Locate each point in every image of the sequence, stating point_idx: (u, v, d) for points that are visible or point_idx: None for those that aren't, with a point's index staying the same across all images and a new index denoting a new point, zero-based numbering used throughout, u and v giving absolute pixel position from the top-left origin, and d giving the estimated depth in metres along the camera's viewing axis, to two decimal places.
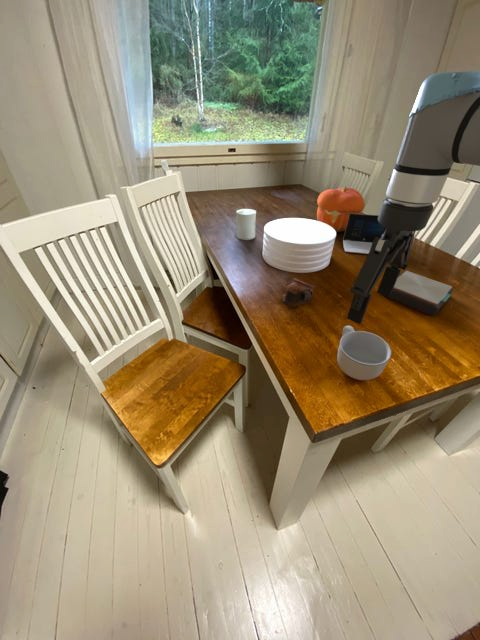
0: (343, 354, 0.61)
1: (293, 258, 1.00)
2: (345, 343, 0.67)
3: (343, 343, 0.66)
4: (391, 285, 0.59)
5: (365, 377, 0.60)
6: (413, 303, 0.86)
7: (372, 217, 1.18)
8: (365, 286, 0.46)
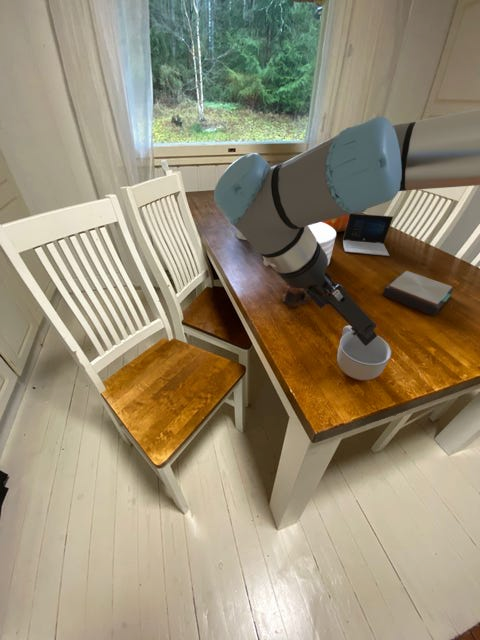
0: (343, 354, 0.61)
1: None
2: (345, 343, 0.67)
3: (343, 343, 0.66)
4: None
5: (365, 377, 0.60)
6: (413, 303, 0.86)
7: (372, 217, 1.18)
8: (367, 321, 0.42)
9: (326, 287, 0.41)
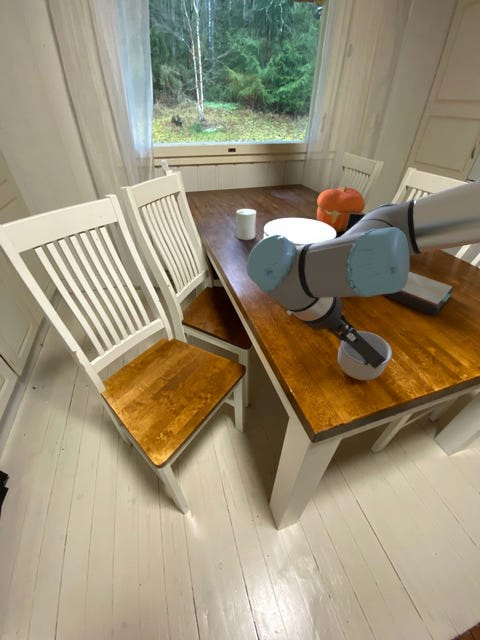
0: (344, 354, 0.61)
1: None
2: (346, 343, 0.67)
3: (344, 343, 0.66)
4: None
5: (366, 377, 0.60)
6: (413, 303, 0.86)
7: None
8: (377, 356, 0.49)
9: (341, 329, 0.48)
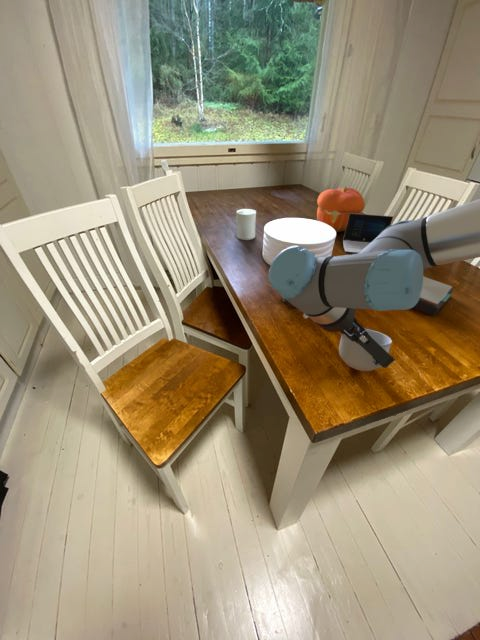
0: (345, 339, 0.62)
1: None
2: None
3: None
4: None
5: (368, 363, 0.60)
6: None
7: (372, 217, 1.18)
8: (387, 356, 0.52)
9: (354, 331, 0.51)
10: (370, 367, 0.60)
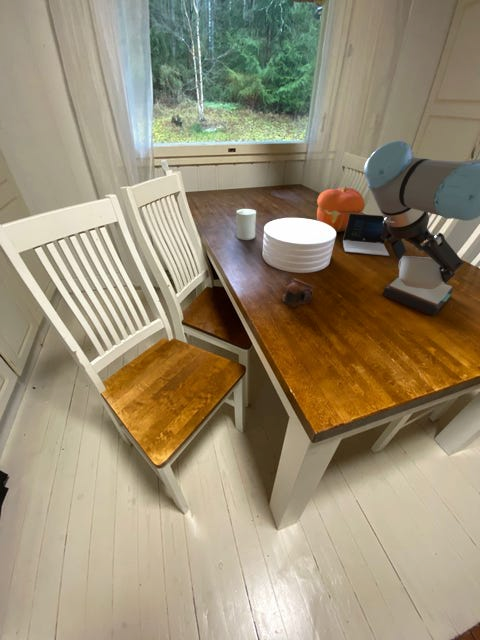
0: (409, 259, 0.68)
1: (293, 258, 1.00)
2: None
3: None
4: (402, 246, 0.73)
5: (432, 277, 0.66)
6: (413, 303, 0.86)
7: (372, 217, 1.18)
8: (457, 259, 0.58)
9: (427, 236, 0.57)
10: (433, 282, 0.66)
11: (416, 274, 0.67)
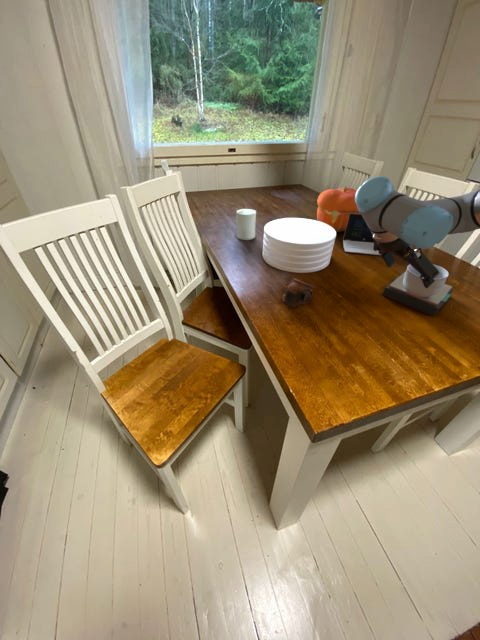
0: (406, 270, 0.84)
1: (293, 258, 1.00)
2: (417, 272, 0.87)
3: (415, 270, 0.87)
4: (392, 257, 0.85)
5: (416, 290, 0.81)
6: (413, 303, 0.86)
7: None
8: (433, 269, 0.69)
9: (409, 250, 0.68)
10: (418, 293, 0.82)
11: (406, 284, 0.84)
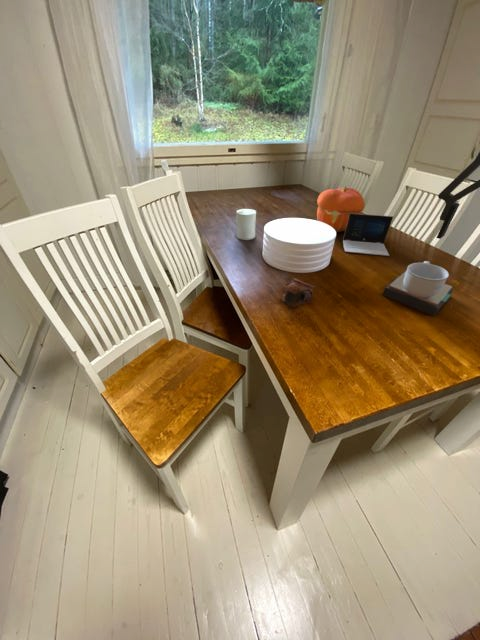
0: None
1: (293, 258, 1.00)
2: (417, 272, 0.87)
3: (415, 270, 0.87)
4: (450, 222, 0.56)
5: (416, 290, 0.81)
6: (413, 303, 0.86)
7: (372, 217, 1.18)
8: None
9: None
10: (418, 294, 0.82)
11: (406, 284, 0.84)
